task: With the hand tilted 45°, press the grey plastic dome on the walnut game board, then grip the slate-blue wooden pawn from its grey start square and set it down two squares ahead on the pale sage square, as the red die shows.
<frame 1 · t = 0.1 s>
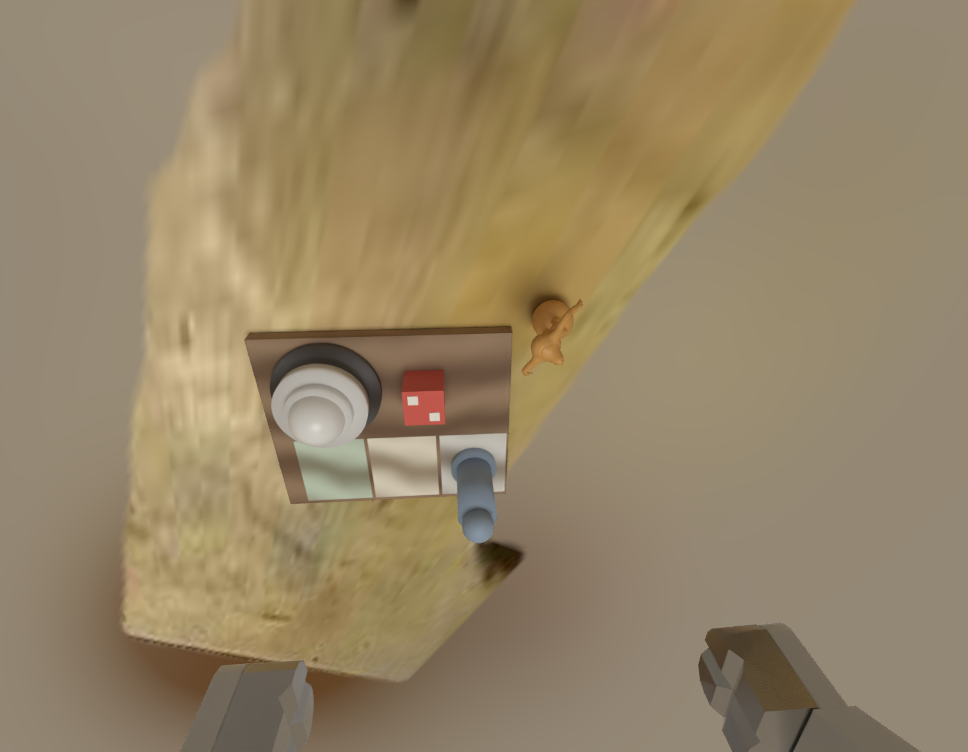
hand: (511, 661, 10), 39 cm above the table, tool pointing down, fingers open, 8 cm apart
figurine: (540, 306, 48), on the table
red die: (425, 386, 50), resting on game board
game board: (392, 418, 54), on the table
dome: (317, 418, 45), point 6 cm above the table, slide at 0.0 cm
pawn: (473, 464, 56), point 2 cm above the table, touching game board
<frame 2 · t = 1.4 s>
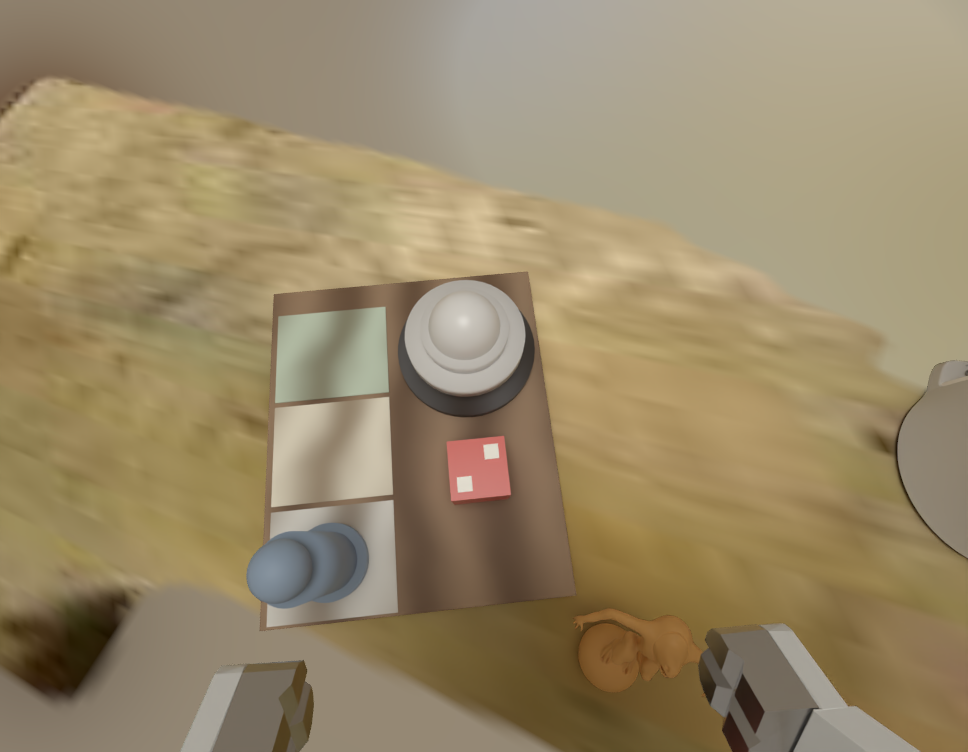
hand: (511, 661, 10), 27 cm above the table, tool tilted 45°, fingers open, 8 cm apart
figurine: (606, 634, 34), on the table
red die: (478, 474, 36), resting on game board
game board: (412, 433, 38), on the table
dome: (464, 327, 34), point 7 cm above the table, slide at 0.0 cm
pawn: (332, 561, 34), point 2 cm above the table, touching game board
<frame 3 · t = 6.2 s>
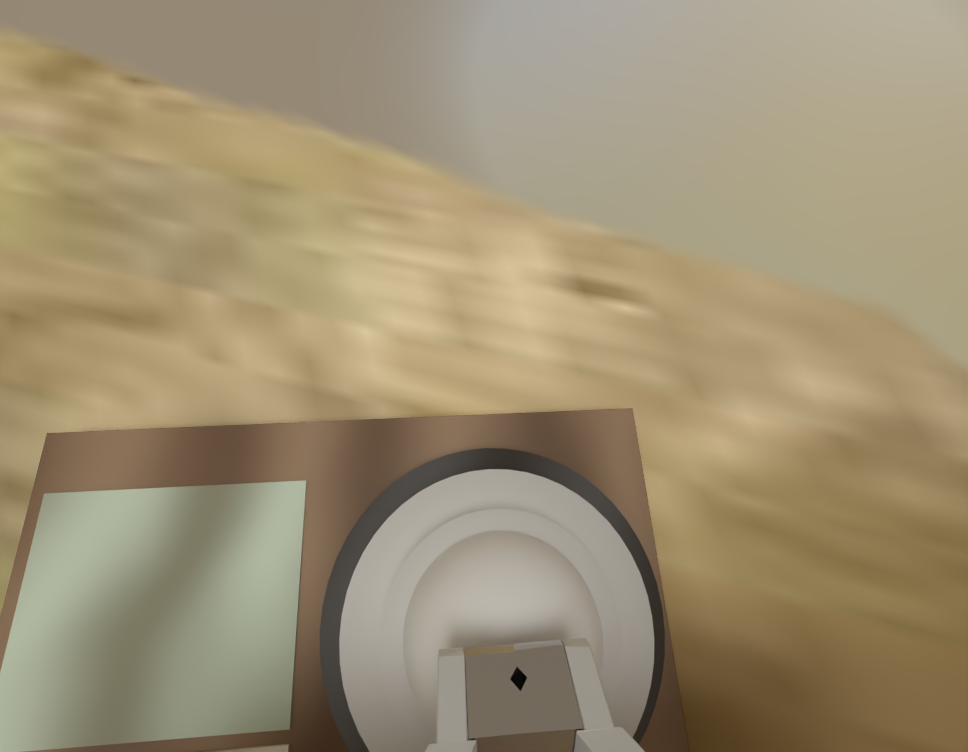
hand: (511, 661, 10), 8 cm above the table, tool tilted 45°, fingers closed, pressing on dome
dome: (502, 634, 13), point 5 cm above the table, slide at 1.2 cm, touching gripper
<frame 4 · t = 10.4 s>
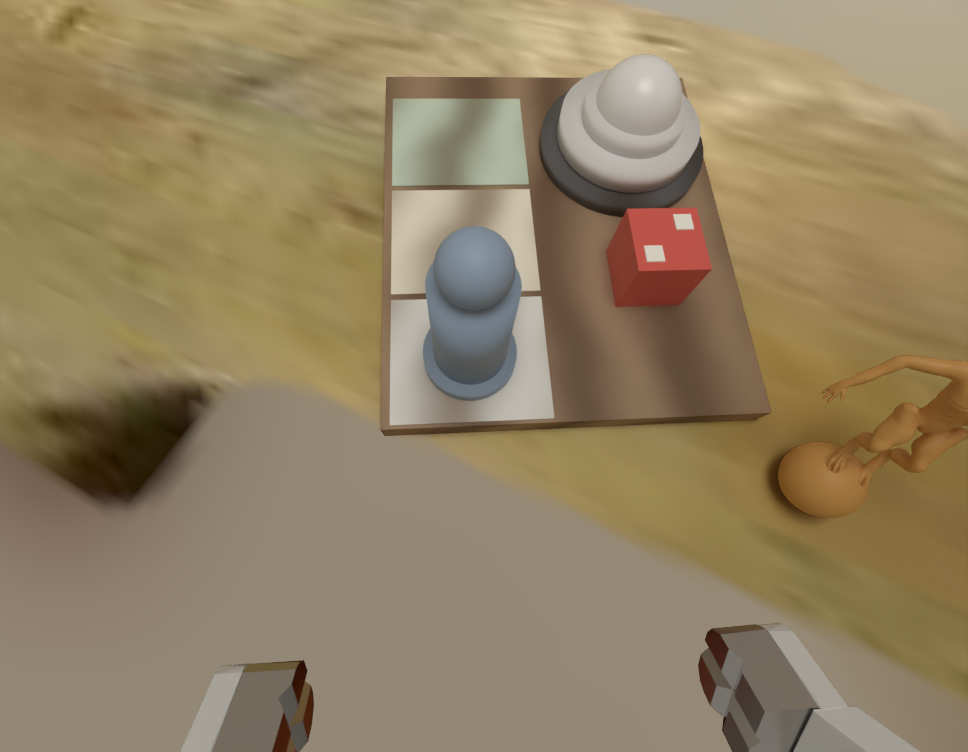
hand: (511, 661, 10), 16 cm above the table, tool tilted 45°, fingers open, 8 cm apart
figurine: (799, 468, 28), on the table
red die: (642, 277, 30), resting on game board
game board: (551, 239, 32), on the table
dome: (636, 104, 29), point 5 cm above the table, slide at 1.3 cm
pawn: (469, 357, 27), point 2 cm above the table, touching game board
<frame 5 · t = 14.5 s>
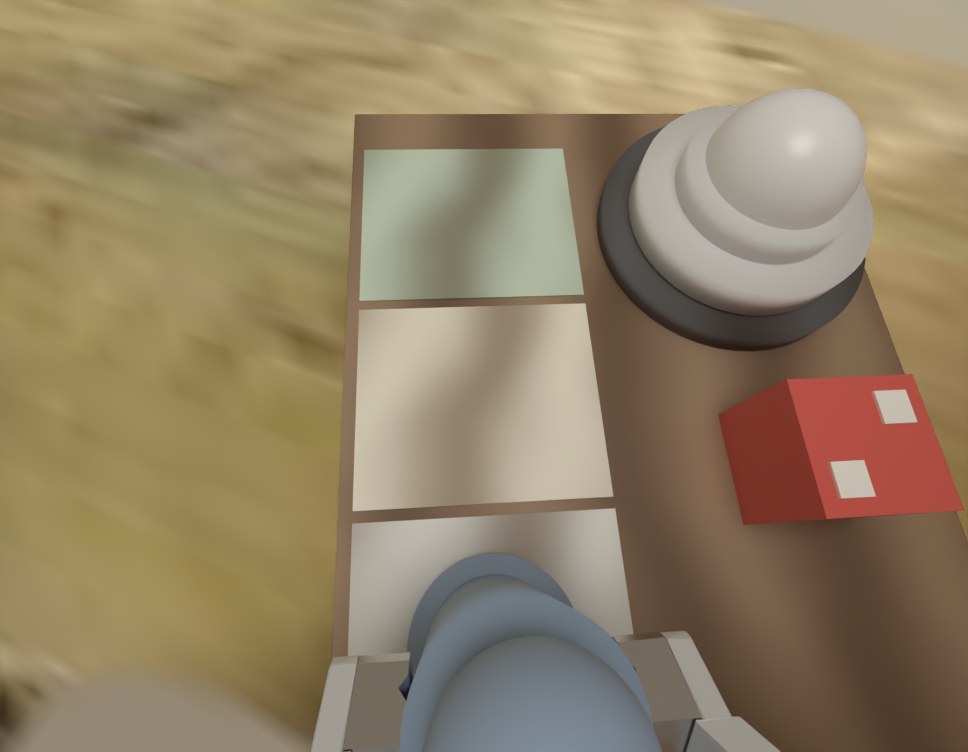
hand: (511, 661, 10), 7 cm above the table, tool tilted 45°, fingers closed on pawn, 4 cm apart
red die: (782, 464, 17), resting on game board
game board: (619, 380, 20), on the table
dome: (774, 171, 17), point 5 cm above the table, slide at 1.3 cm
pawn: (493, 641, 15), point 2 cm above the table, touching game board, gripper
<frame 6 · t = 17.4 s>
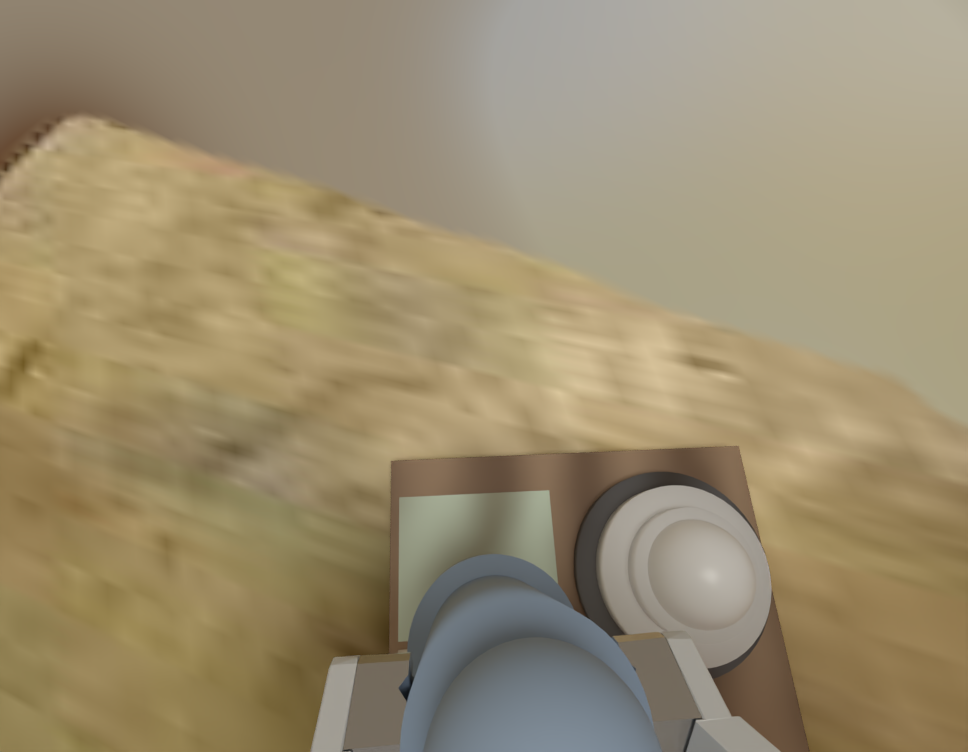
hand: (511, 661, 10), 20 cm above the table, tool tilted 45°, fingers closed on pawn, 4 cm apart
game board: (589, 687, 27), on the table
dome: (697, 572, 24), point 5 cm above the table, slide at 1.3 cm
pawn: (493, 642, 15), point 14 cm above the table, touching gripper
when the fingers open (9 cm above the table, at t = 20.6 s): pawn drops 1 cm, resting on game board.
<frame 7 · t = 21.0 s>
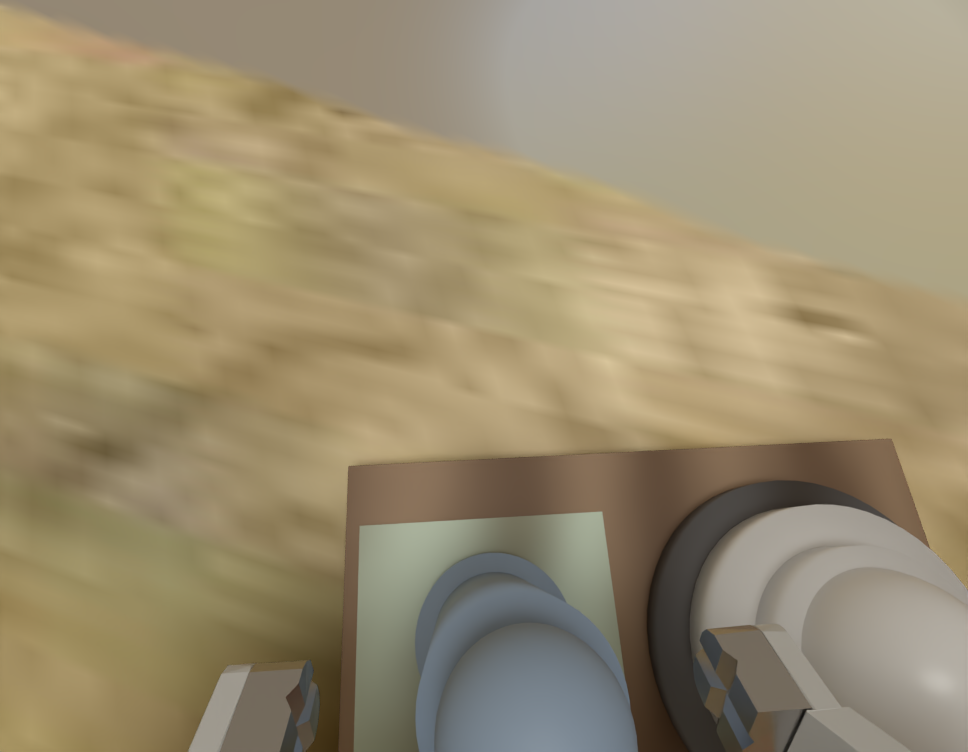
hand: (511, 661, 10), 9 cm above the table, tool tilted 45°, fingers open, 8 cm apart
dome: (890, 666, 13), point 5 cm above the table, slide at 1.3 cm
pawn: (493, 633, 16), point 2 cm above the table, touching game board
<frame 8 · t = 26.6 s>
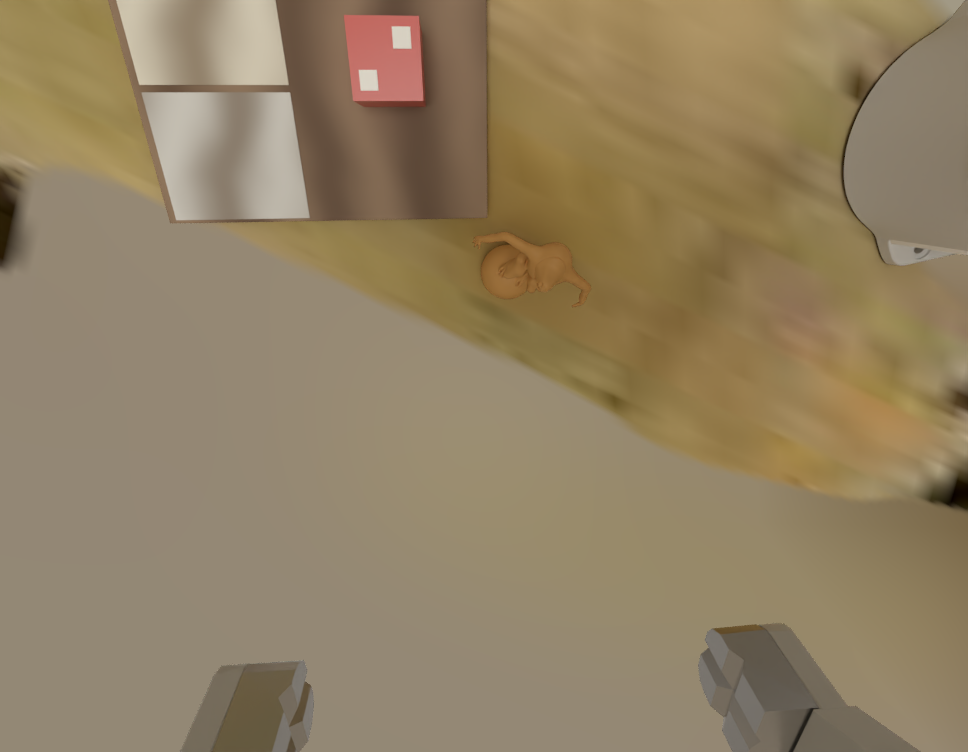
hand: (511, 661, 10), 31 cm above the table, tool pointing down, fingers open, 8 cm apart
figurine: (511, 254, 37), on the table
red die: (392, 70, 30), resting on game board
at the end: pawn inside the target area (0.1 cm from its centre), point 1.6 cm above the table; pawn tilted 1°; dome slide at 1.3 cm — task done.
